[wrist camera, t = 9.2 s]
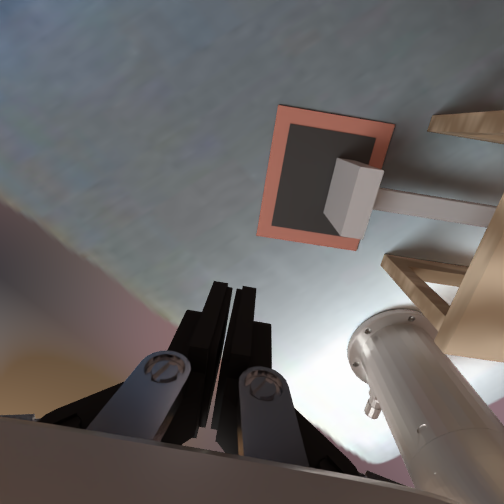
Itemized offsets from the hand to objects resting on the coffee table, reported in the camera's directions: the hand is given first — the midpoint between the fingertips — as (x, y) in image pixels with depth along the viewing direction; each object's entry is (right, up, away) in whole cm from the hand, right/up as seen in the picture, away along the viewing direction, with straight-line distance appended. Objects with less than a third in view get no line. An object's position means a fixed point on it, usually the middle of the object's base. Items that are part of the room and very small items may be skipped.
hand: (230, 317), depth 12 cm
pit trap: (+8, +10, +21) cm, 25 cm away
